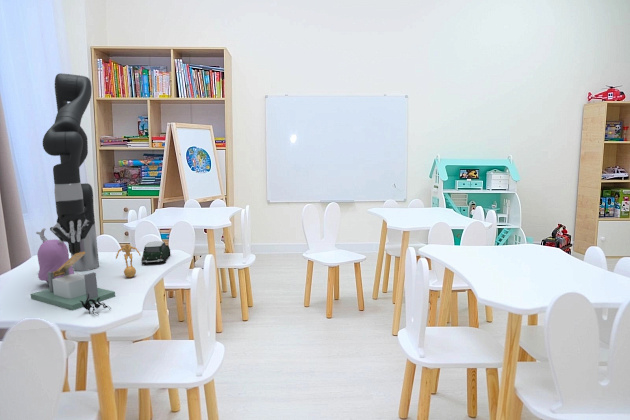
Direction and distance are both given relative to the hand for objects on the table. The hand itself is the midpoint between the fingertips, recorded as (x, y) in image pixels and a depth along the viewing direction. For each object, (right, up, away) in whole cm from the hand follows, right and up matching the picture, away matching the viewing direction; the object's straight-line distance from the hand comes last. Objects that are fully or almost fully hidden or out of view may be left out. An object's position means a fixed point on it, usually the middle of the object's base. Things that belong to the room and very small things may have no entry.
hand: (75, 254), depth 144 cm
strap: (-3, -4, +3) cm, 6 cm away
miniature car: (+8, -8, +50) cm, 51 cm away
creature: (+12, -16, -10) cm, 22 cm away
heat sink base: (-3, -14, +4) cm, 15 cm away
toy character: (-16, -13, +19) cm, 28 cm away
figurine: (+7, -11, +26) cm, 29 cm away
